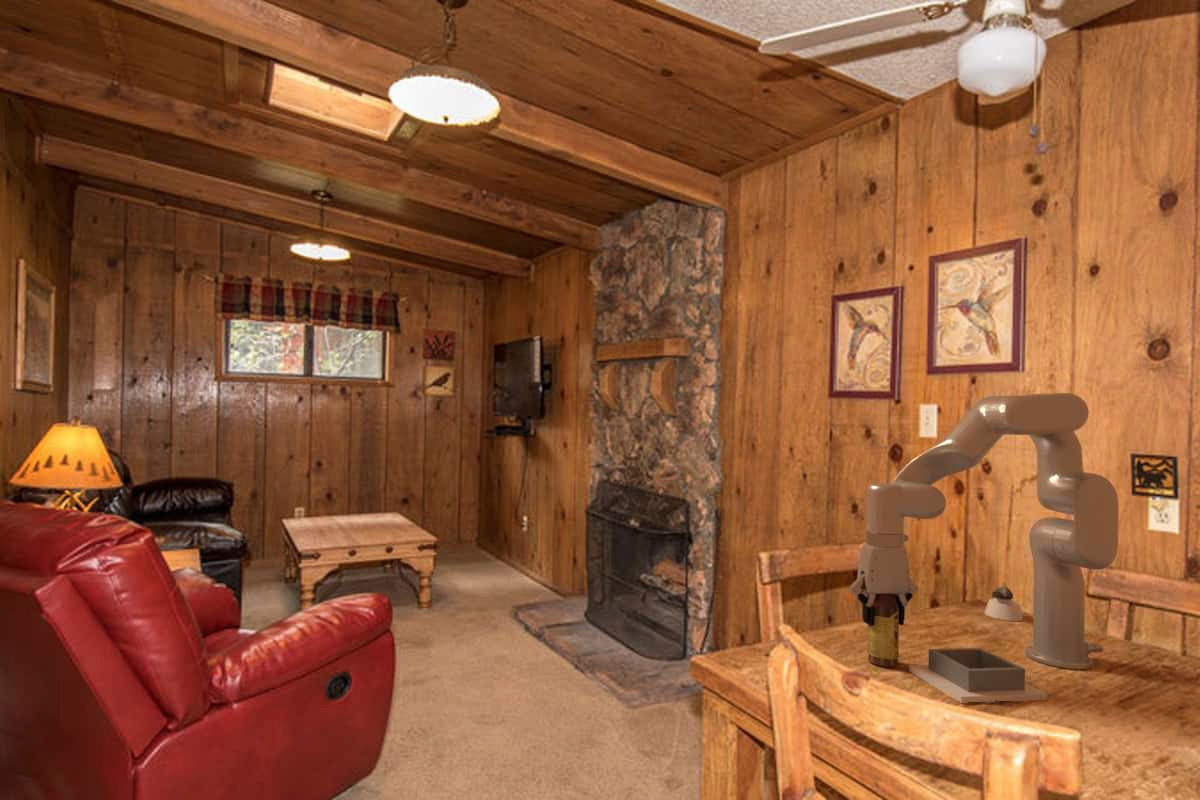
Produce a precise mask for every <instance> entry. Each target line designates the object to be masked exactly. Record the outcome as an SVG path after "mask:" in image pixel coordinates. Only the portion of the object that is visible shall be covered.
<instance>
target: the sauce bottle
mask: <svg viewBox="0 0 1200 800" xmlns="http://www.w3.org/2000/svg"><path fill="white" fill-rule="evenodd" d="M872 607H874V625H873V626H870V625H868V624H867V654H868V656H867V657H868V658H867V659H868V662H870V664H873V665H876V666H877V667H886V668H893V667H897V665H898V663H899V657H900V656H899V655H900V654H899V652H900V651H899V650H900V649H899V648H900V647H899V646H900V643H899V641H900V640H899V637H900V634H899V633H900V625H899V608H898V605H897V602H896V599H895V596H894V594H876V596H875V599H874V601H873V604H872Z"/></svg>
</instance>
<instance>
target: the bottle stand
mask: <svg viewBox="0 0 1200 800" xmlns="http://www.w3.org/2000/svg"><path fill="white" fill-rule="evenodd" d="M927 662H928V664H917V665H916V664H914V665H913V664H912V665H910V664H909V665H908V668H909V669H908V672H910V673H912V674H913V675H914V676H917V677H918V678H919V679H921V680H923V681H924V682H926V683H927V684H929V685H930V686H932V687H934V688H936V689H937V690H939V691H940V692H942V693H943V694H945V695H947V696H949V697H950V698H951V697H952V698H951V699H953V700H955V701H956V700H957V701H956V702H958V701H960V702H959V703H960V704H962V703H961V702H986V703H996V702H995V701H998V702H997V703H1000V702H999V701H1011V702H1012V701H1013V702H1032V701H1034V702H1035V701H1036V702H1037V701H1038V702H1039V701H1048V693H1046V692H1044V691H1042V690H1040V689H1038V688H1036V687H1035V686H1032V685H1030V684H1028V683H1026V669H1025V668H1023V667H1022V666H1019V665H1018V664H1015V663H1013V662H1011V661H1010V660H1007V659H1004V658H1003V657H1001V656H999V655H996V654H994V653H993V652H991V651H988V650H986V649H984V648H982V647H968V648H967V647H963V648H960V647H959V648H929V649H928V661H927Z"/></svg>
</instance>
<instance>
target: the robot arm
mask: <svg viewBox="0 0 1200 800" xmlns="http://www.w3.org/2000/svg"><path fill="white" fill-rule="evenodd" d="M1089 411H1090V410H1089V407H1088V405H1087V403H1086V401H1085V400H1084V399H1082V398H1081V396H1079V395H1076V394H1074V393H1070V392H1060V393H1059V392H1058V393H1032V394H1024V395H1023V394H1021V395H1018V394H1017V395H1015V394H1014V395H995V396H993V395H992V396H986V397H983V398H981V399H979V400H978V401H977V402H976V403H974V404H973V405H972V407H971V408H970V409H969V410H968V411H967V412H966V414H965V415H963V417H962V418H961V419H960V420H959V422H958V423H956V425H954V427H953V428H952V429H951V431H950V432H949V433H948V434H947V435H945V437H944V438H943V439H942V440H941V441H940V442H939V443H937V444H935V445H934V446H932V447H930V448H928V449H927V450H926V451H924V452H922V453H921V454H920V455H917V457H915V458H913V459H911V460H910V462H908V463H907V464H906V465H904V467H903V468H902V469H901V470H900V471H899V473H898V474H896V476H894V478H893V479H892V481H891V482H890V483H889V482H873V483H871V484H869V485H868V487H867V490H866V491H867V492H866V527H865V528H866V529H865V530H866V531H865V532H866V534H865V536H866V538H865V540H866V541H865V544H863V545H862V546H861V549H860V554H859V559H858V566H857V577H856V580H855V581H854V582H852V584H851V585H850V586H849V587H848V588H849V589H848V590H850V592H851V593H852V594H853V595H854V597H856V598H857V600H858V601H859V602H860V604H862V619H863V622H864V623H865V624H867V626H868V625H870V626H873V625H874V607H872V604H873V601H874V599H875V596H876V594H894V596H895V599H896V602H897V605H898V608H899V626H903V625H904V624H905V623H904V622H905V618H906V617H905V616H906V615H905V613H906V611H905V610H906V608H905V607H907V606H908V605H909V604H908V603H909V601H910V600H912V598H913V596H915V594H916V593H917V592H918V591H919V587H918V586H917V584H916V583H915V581H913V580H912V579H911V577H910V574H911V573H910V564H909V563H910V562H909V556H908V552H907V548H906V547H905V546H904V545H905V542H908V541H909V535H907V534H905V518H912V519H913V518H914V519H919V520H932V519H935V518H937V517H939V516H941V515H942V514H943V513H944V512H945V510H946V507H947V499H946V497H945V494H944V493H943V492H942V491H941V490H940V489H939V488H937V487H935V486H933V484H935V483H936V482H938V481H939V480H941V479H944V478H947V477H948V476H951V475H955V474H958V473H961V472H965V471H967V470H970V469H972V468H975V467H976V466H977V465H978V464H980V462H981V461H982V460H983V459H984V457H985V456H986V455H987V454H988V453H989V451H990V450H991V449H992V448H993V447H994V446H995V445H996V443H997V442H998V441H999V440H1000V439H1001V438H1002V437H1003V436H1004V435H1007V436H1009V435H1011V436H1029V437H1030V439H1031V440H1032V442H1033V444H1034V446H1035V450H1036V460H1037V461H1036V462H1037V463H1036V464H1037V466H1036V470H1037V471H1036V494H1037V499H1038V503H1040V505H1041V506H1042V507H1043V508H1045V509H1046V510H1049V511H1052V512H1057V513H1062V514H1067V515H1072V516H1073V520H1072V519H1067V518H1063V517H1062V518H1061V517H1057V516H1055V517H1054V516H1053V517H1052V516H1051V517H1043V518H1041V519H1039V520H1037V521H1035V523H1034V524H1032V526H1031V528H1030V531H1029V535H1028V540H1029V541H1028V542H1029V547H1030V551H1031V552H1030V553H1031V557H1032V562H1033V563H1032V565H1033V615H1032V616H1033V618H1032V621H1033V625H1032V627H1033V628H1032V631H1033V632H1032V633H1033V634H1032V645H1029V646H1026V647H1025V648H1024V654H1025V656H1027V657H1028V658H1029V659H1031V660H1034V661H1035V662H1039V663H1041V664H1044V665H1048V666H1052V667H1058V668H1064V669H1070V670H1088V669H1090V668H1092V667H1093V666H1094V661H1093V659H1092V658H1091V657H1090V656H1089V654H1091V653H1102V652H1103V651H1104V648H1103V645H1102V644H1101V643H1098V642H1097V643H1093V642H1092V643H1089V642H1088V641H1086V640H1085V615H1086V613H1085V608H1086V607H1085V605H1086V604H1085V603H1086V602H1085V601H1086V599H1085V597H1086V595H1085V594H1086V584H1085V582H1086V581H1085V577H1084V573H1083V571H1082V569H1081V568H1085V569H1087V570H1093V571H1095V570H1097V571H1099V570H1103V569H1107V568H1108V567H1110V566H1111V565H1112V564H1113V563H1114V561H1115V559H1116V557H1117V554H1118V549H1119V496H1118V493H1117V491H1116V488H1115V487H1114V485H1113V483H1112V482H1111V481H1110V480H1109V479H1107V478H1106V477H1105V476H1103V475H1101V474H1097V473H1093V472H1084V462H1083V449H1082V445H1081V443H1080V439H1079V438H1078V436H1077V435H1076V433H1075V431H1079V430H1080V429H1081V428H1082V427H1083V426H1085V424H1087V423H1086V422H1087V421H1088V418H1089ZM861 590H863V592H861ZM1087 668H1088V669H1087Z"/></svg>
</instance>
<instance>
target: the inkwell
mask: <svg viewBox="0 0 1200 800" xmlns="http://www.w3.org/2000/svg"><path fill="white" fill-rule="evenodd" d="M1013 596H1014V594H1013V592H1012V591H1011V589H1009V588H1008V587H1007V586H1006V585H1001V586H1000V587H997V589H995V590H993V591H992V593H991V597H992V598H990V599H988V600H987V601H988V602H987V605H986V607H985V610H984V614H985V615H986V616H987V617H988V618H992V619H996V620H999V621H1000V620H1001V621H1005V622H1006V621H1007V622H1021V621H1023V620H1024V615H1023V612H1022V609H1021V605H1020V603H1018V602H1017V601H1015V599H1014V597H1013Z"/></svg>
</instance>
